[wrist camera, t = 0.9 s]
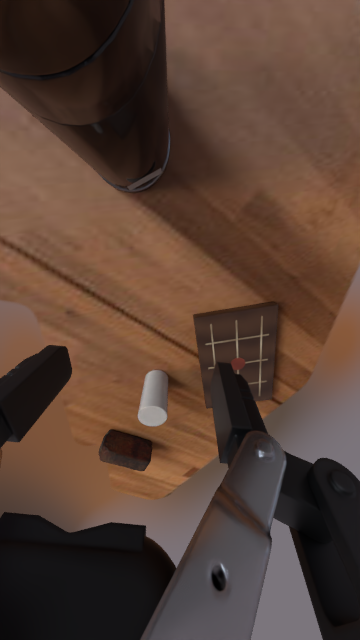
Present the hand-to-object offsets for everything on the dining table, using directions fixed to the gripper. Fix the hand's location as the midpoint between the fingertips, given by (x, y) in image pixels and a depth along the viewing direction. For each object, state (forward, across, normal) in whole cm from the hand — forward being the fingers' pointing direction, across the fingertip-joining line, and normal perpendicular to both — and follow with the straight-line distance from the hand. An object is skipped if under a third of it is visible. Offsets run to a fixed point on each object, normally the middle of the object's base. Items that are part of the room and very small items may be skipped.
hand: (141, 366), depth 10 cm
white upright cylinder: (+18, +1, +19) cm, 26 cm away
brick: (+17, +7, +37) cm, 41 cm away
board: (+19, -13, +13) cm, 27 cm away
